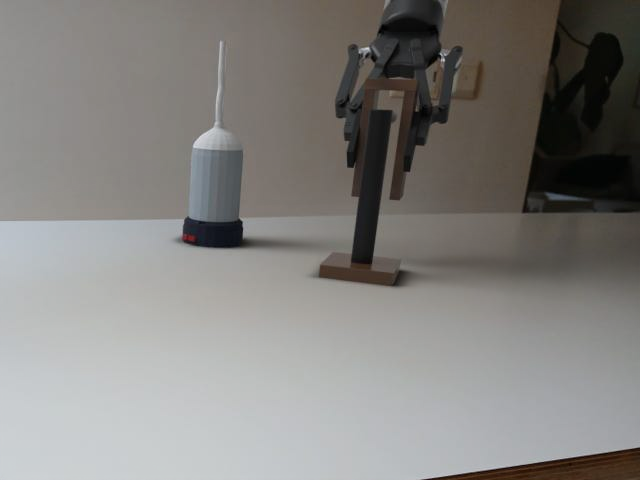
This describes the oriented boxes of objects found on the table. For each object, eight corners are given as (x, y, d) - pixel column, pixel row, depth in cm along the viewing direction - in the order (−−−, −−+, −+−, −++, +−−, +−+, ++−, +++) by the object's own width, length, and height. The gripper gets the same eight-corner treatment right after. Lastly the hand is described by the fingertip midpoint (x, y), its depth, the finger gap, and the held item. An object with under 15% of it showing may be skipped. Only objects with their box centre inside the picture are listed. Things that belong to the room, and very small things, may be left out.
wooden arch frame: (402, 196, 90) (420, 80, 85) (399, 200, 86) (417, 79, 82) (356, 192, 92) (370, 78, 87) (351, 196, 88) (365, 78, 83)
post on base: (404, 261, 93) (427, 109, 87) (391, 286, 80) (417, 111, 74) (340, 253, 96) (357, 106, 89) (318, 277, 83) (337, 108, 77)
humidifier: (174, 244, 98) (183, 38, 89) (191, 234, 105) (201, 43, 96) (234, 250, 95) (249, 39, 87) (248, 239, 103) (262, 44, 94)
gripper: (488, 42, 93) (461, 189, 84) (339, 40, 99) (300, 177, 91) (497, -10, 86) (469, 144, 78) (336, -9, 93) (294, 134, 84)
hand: (378, 161), depth 84 cm, fingers closed on wooden arch frame, 6 cm apart
